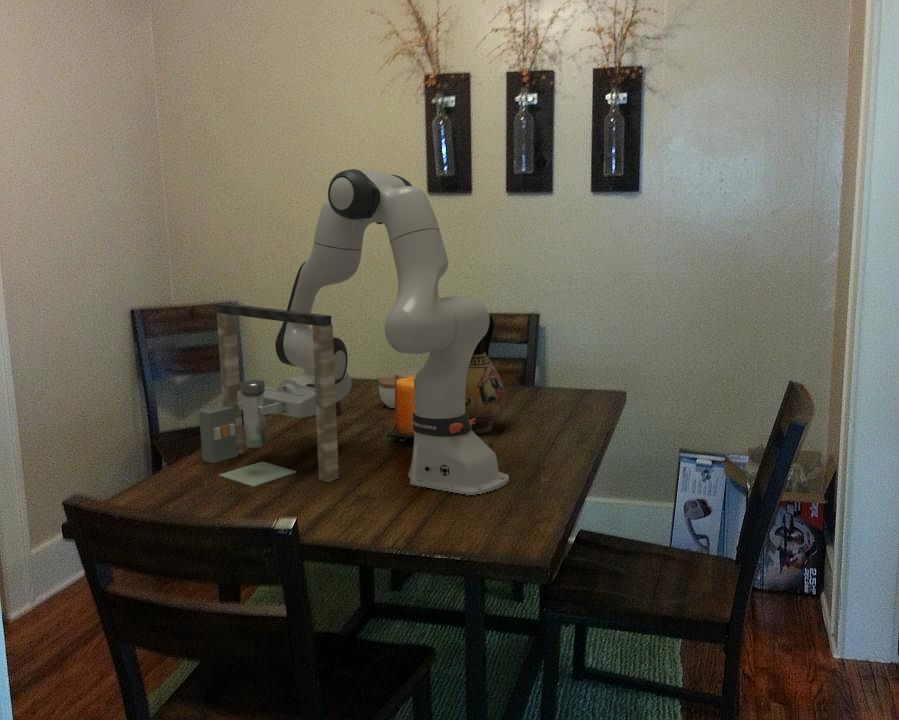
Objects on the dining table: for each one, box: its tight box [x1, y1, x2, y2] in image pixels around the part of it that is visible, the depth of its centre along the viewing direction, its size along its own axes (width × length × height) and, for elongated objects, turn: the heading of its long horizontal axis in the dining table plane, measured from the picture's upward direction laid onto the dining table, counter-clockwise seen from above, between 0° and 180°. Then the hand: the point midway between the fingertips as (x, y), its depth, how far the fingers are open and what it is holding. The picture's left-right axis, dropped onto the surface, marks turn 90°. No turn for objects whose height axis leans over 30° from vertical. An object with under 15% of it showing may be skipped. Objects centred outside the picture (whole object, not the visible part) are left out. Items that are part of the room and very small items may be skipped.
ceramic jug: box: [465, 314, 506, 434], centre depth 229 cm, size 17×15×30 cm
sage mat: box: [218, 461, 297, 488], centre depth 197 cm, size 12×12×1 cm
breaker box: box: [198, 404, 239, 464], centre depth 208 cm, size 5×7×12 cm
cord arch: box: [216, 302, 340, 483], centre depth 200 cm, size 36×3×36 cm, turn 50°
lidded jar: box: [377, 374, 409, 409], centre depth 255 cm, size 11×11×9 cm
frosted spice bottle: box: [240, 379, 267, 448], centre depth 195 cm, size 5×5×14 cm
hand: (250, 409), depth 194 cm, fingers closed on frosted spice bottle, 5 cm apart
